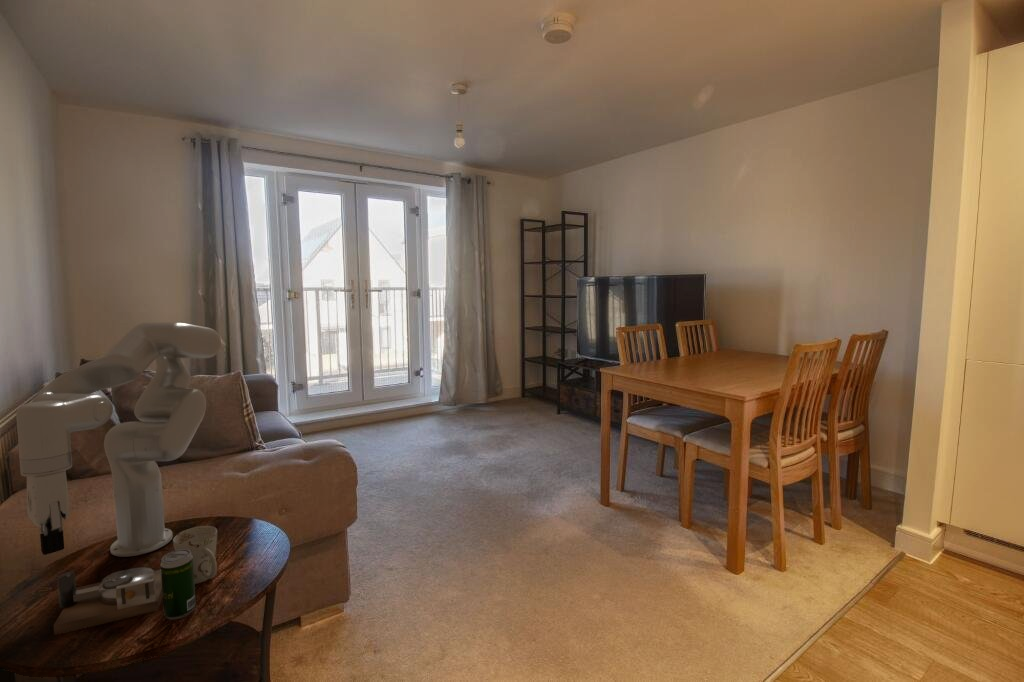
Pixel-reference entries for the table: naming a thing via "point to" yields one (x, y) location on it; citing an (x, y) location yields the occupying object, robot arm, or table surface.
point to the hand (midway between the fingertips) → (52, 550)
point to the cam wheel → (105, 590)
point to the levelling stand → (129, 604)
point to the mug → (200, 550)
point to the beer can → (178, 584)
